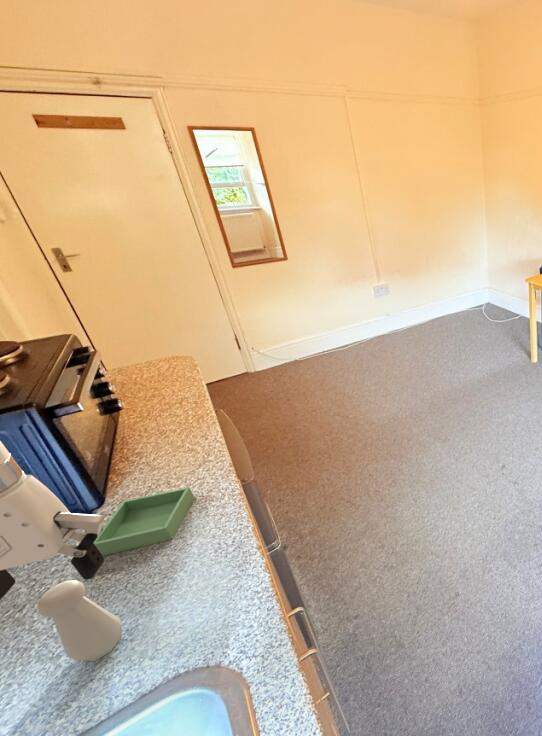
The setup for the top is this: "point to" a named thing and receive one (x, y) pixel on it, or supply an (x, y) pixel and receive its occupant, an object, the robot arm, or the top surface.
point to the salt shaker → (80, 621)
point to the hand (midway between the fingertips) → (50, 581)
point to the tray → (144, 521)
